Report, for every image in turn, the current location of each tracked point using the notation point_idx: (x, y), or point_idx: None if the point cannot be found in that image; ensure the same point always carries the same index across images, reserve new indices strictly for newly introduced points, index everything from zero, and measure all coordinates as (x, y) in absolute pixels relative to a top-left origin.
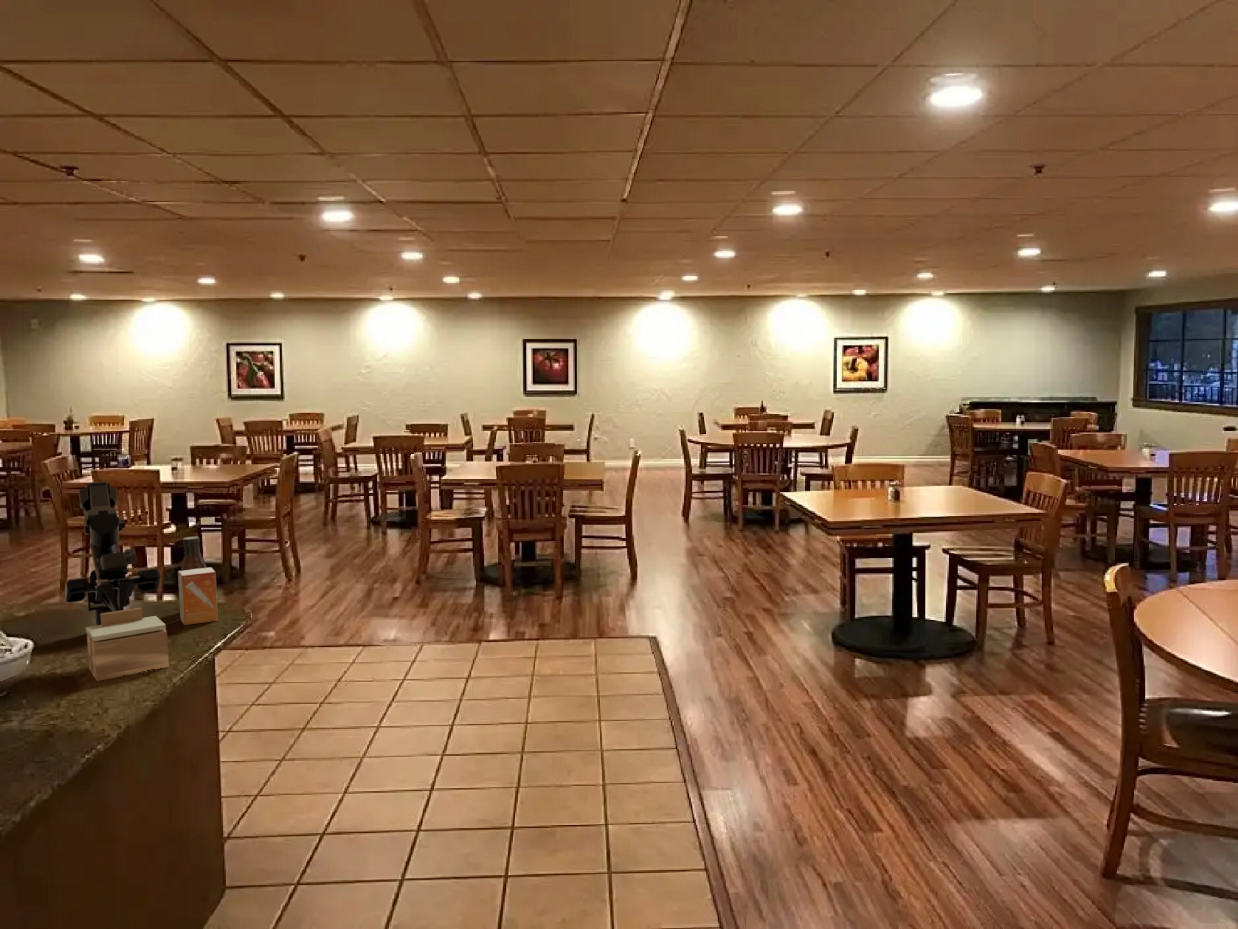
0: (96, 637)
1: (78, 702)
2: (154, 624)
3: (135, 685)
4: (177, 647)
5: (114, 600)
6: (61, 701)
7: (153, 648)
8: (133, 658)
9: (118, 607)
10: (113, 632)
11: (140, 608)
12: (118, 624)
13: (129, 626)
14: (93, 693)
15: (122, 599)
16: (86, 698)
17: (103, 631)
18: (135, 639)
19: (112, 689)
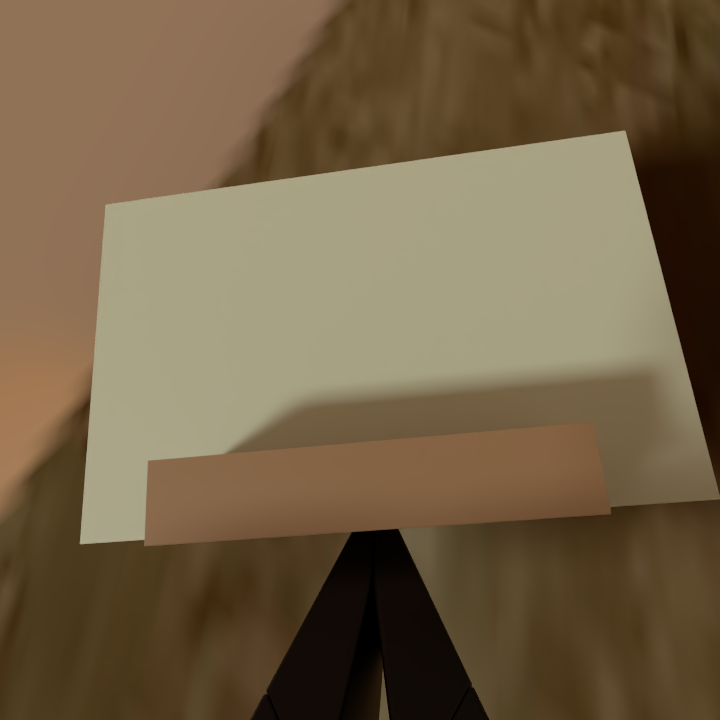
0: (597, 139)
1: (607, 40)
2: (165, 253)
3: (391, 132)
4: (111, 633)
5: (422, 711)
6: (675, 77)
7: None
8: None
9: (382, 597)
10: (471, 179)
11: (158, 480)
12: (414, 417)
13: (339, 292)
14: (552, 113)
15: (294, 705)
16: (578, 70)
17: (547, 246)
18: None
19: (479, 126)
